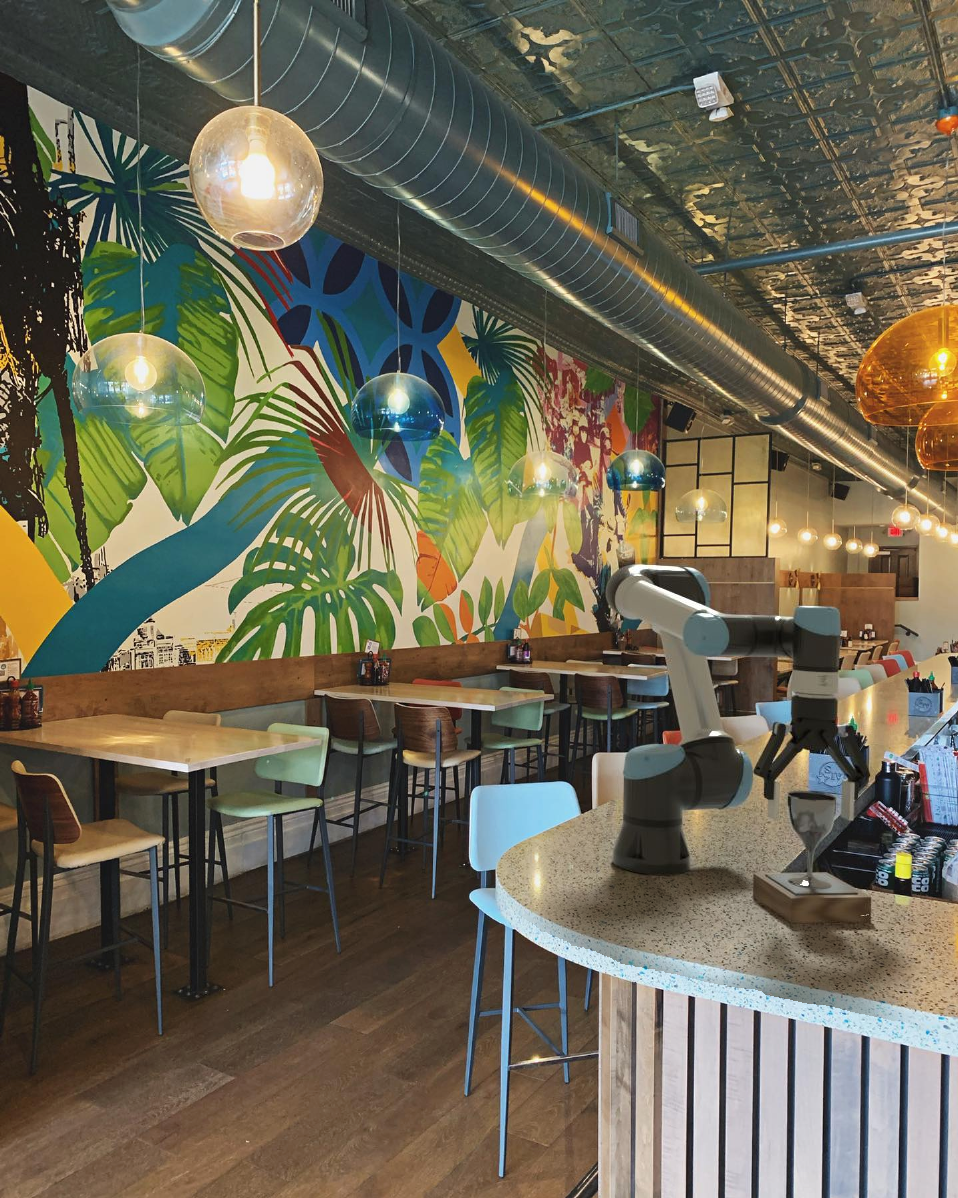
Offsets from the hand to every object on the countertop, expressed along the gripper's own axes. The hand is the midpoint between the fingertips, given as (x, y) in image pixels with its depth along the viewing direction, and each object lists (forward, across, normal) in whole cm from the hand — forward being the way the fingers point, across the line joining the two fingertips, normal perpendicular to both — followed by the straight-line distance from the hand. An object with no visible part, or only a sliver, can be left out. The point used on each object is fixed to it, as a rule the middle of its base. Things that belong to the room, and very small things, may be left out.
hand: (810, 818), depth 154 cm
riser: (+15, 0, -1) cm, 15 cm away
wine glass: (+11, 0, 0) cm, 11 cm away
